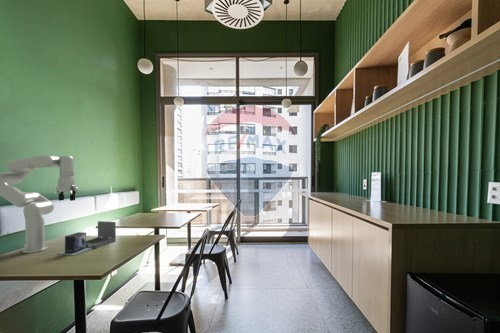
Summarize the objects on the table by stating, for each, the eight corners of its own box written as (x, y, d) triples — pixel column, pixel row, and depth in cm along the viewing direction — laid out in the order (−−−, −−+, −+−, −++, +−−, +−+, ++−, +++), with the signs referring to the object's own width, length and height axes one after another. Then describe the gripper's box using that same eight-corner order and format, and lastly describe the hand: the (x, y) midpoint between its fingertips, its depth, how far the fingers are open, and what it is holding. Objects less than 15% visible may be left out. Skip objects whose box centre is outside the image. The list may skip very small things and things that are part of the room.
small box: (74, 253, 152) (73, 236, 153) (64, 253, 153) (64, 236, 153) (86, 248, 163) (86, 232, 163) (77, 247, 164) (77, 232, 164)
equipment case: (76, 247, 167) (76, 226, 167) (99, 240, 184) (99, 221, 184) (94, 248, 163) (94, 227, 163) (115, 241, 180) (115, 221, 180)
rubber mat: (57, 254, 154) (57, 253, 154) (77, 247, 166) (77, 246, 166) (73, 255, 150) (73, 254, 150) (92, 249, 163) (92, 248, 163)
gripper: (51, 174, 163) (51, 200, 162) (71, 174, 158) (71, 201, 158) (62, 174, 170) (62, 199, 170) (82, 174, 165) (82, 199, 165)
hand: (67, 200), depth 164 cm, fingers open, 9 cm apart
